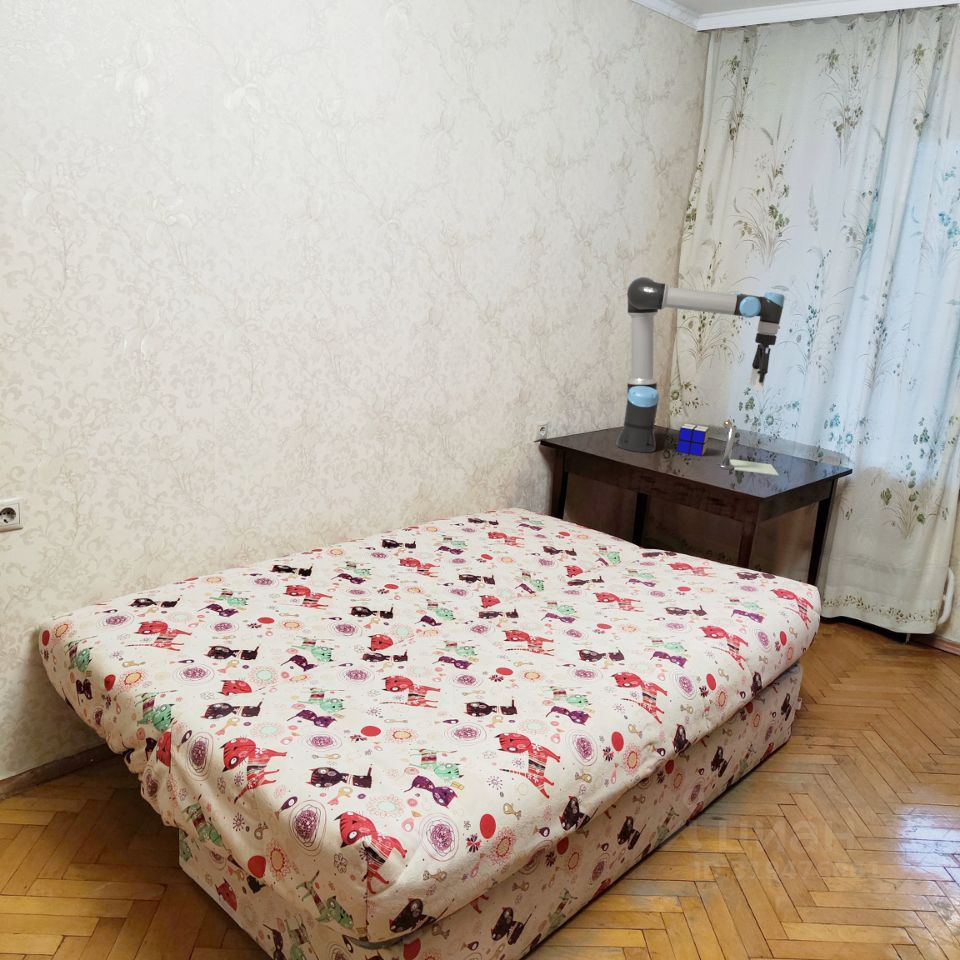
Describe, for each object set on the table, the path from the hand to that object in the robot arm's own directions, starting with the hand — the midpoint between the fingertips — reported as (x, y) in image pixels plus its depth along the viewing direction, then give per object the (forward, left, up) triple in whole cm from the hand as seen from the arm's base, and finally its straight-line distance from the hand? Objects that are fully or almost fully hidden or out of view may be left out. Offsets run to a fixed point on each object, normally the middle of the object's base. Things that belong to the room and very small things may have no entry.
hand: (755, 388), depth 348 cm
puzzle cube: (-21, -6, -28) cm, 35 cm away
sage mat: (+1, -20, -27) cm, 34 cm away
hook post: (-10, -20, -27) cm, 35 cm away
